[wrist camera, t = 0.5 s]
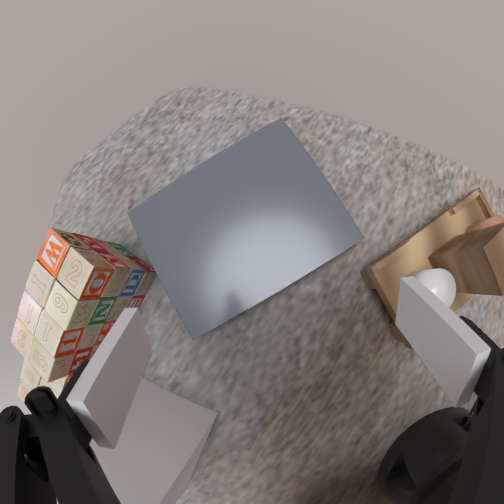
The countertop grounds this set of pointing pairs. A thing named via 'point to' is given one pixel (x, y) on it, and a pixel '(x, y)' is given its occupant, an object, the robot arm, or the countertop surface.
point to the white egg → (437, 283)
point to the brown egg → (485, 223)
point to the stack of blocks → (73, 305)
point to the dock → (242, 227)
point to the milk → (156, 447)
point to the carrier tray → (420, 250)
